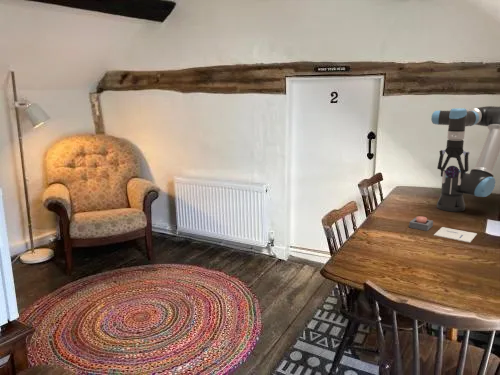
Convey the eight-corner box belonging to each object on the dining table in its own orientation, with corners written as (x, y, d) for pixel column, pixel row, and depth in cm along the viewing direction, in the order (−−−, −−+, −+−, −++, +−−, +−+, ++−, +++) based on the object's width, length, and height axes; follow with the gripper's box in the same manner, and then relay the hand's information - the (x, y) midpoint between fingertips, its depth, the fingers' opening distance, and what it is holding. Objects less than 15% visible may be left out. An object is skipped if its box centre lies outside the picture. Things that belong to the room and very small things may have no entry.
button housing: (415, 222, 214) (415, 217, 214) (432, 226, 209) (433, 220, 208) (409, 227, 208) (409, 221, 207) (427, 231, 202) (427, 225, 201)
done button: (417, 221, 211) (418, 215, 210) (427, 222, 208) (428, 217, 207) (414, 223, 207) (415, 218, 207) (424, 225, 204) (425, 219, 203)
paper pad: (442, 227, 206) (442, 226, 206) (476, 234, 196) (477, 233, 196) (433, 235, 196) (433, 234, 196) (470, 242, 186) (470, 241, 186)
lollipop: (459, 195, 205) (462, 167, 201) (444, 195, 206) (447, 167, 203) (455, 192, 212) (458, 164, 208) (441, 192, 213) (444, 164, 209)
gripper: (432, 139, 206) (429, 182, 211) (475, 141, 193) (470, 187, 199) (437, 137, 211) (433, 180, 217) (479, 139, 199) (474, 184, 204)
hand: (451, 183), depth 208 cm, fingers closed on lollipop, 7 cm apart
